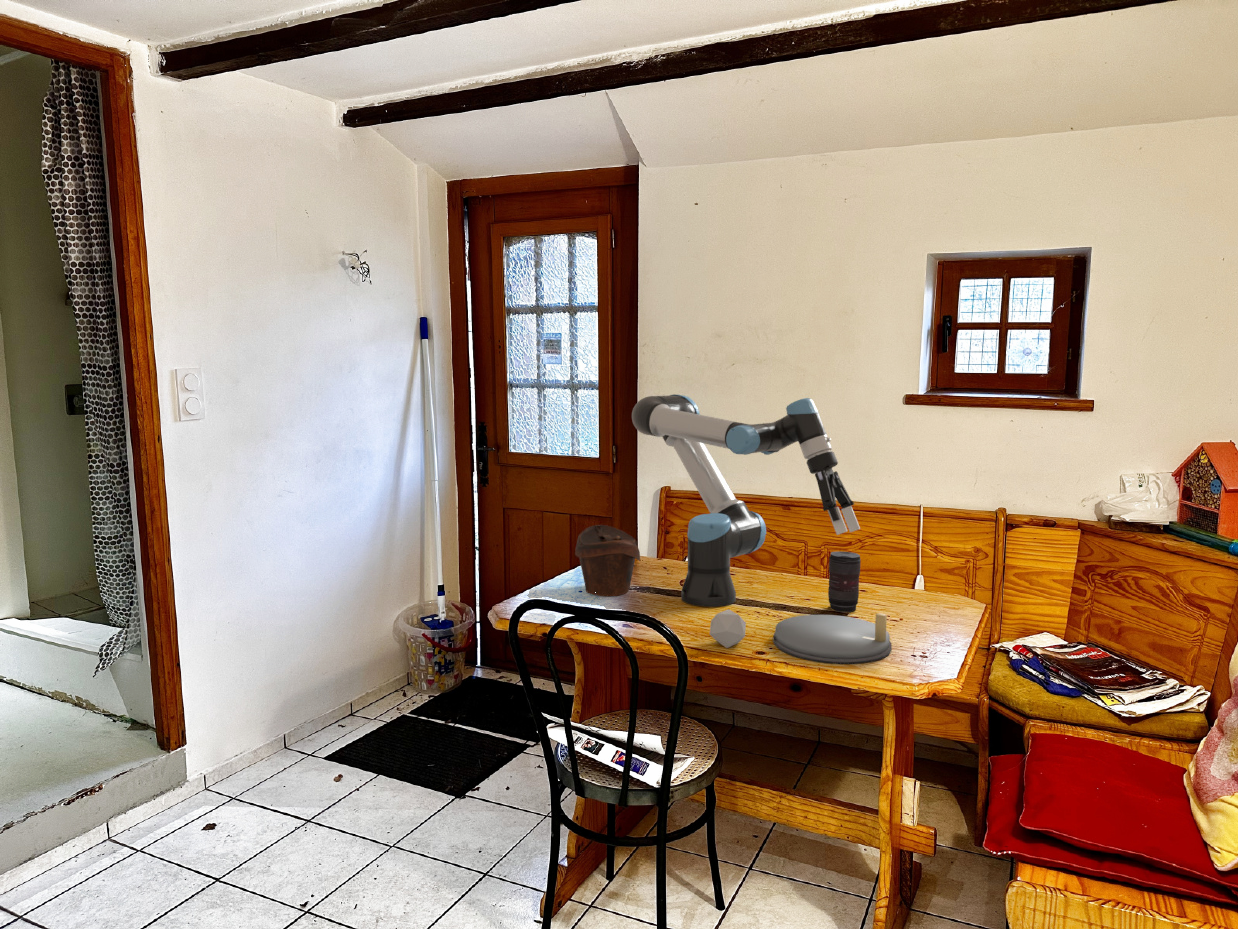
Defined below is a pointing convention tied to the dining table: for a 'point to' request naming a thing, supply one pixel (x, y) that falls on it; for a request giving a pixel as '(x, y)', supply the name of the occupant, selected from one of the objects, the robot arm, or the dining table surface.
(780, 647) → the turntable base
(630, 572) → the brown tapered cup shape
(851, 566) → the camera lens
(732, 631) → the die
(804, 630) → the turntable
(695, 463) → the robot arm
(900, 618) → the dining table surface
